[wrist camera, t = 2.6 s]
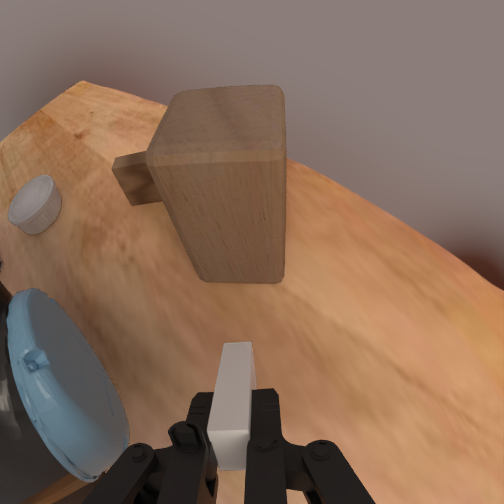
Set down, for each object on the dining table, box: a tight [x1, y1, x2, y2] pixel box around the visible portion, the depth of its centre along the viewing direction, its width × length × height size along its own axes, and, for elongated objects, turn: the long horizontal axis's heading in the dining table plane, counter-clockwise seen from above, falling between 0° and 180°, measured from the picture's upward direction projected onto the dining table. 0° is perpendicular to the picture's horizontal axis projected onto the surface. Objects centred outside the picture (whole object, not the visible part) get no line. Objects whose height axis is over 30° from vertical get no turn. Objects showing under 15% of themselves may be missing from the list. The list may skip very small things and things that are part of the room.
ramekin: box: [8, 175, 61, 235], centre depth 43 cm, size 11×11×5 cm
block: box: [146, 85, 286, 284], centre depth 29 cm, size 10×10×20 cm
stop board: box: [112, 151, 163, 206], centre depth 41 cm, size 22×2×8 cm, turn 94°
